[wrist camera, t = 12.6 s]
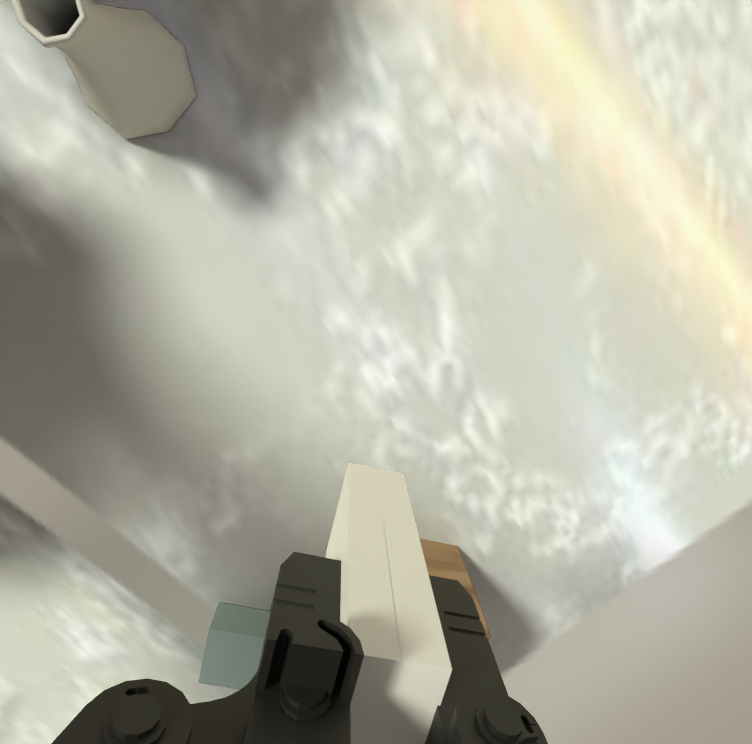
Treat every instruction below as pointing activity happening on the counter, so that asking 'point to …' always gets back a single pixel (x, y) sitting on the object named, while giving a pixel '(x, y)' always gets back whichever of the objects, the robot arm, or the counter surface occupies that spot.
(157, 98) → the flask
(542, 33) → the counter surface
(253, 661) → the board
